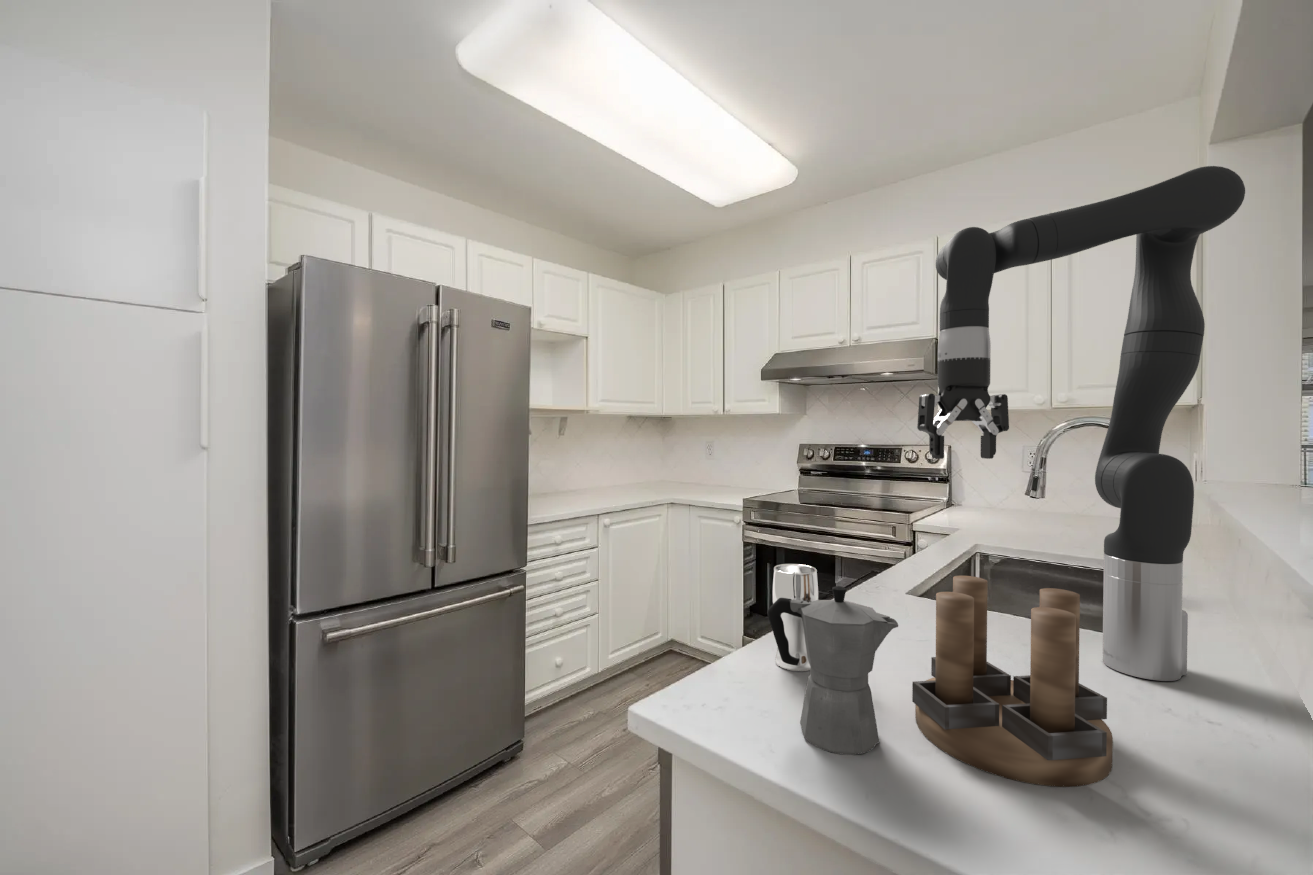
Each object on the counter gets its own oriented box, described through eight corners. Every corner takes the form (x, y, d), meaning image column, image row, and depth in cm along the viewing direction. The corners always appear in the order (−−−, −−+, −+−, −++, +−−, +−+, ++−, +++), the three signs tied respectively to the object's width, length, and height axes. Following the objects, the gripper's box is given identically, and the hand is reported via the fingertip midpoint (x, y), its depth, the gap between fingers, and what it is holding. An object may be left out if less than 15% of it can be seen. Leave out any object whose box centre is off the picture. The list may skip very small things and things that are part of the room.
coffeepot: (901, 729, 70) (902, 584, 70) (892, 770, 62) (893, 605, 61) (778, 701, 77) (778, 569, 77) (755, 734, 69) (756, 586, 69)
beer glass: (819, 674, 85) (820, 575, 85) (772, 670, 87) (772, 573, 87) (816, 656, 92) (816, 564, 92) (772, 653, 94) (772, 562, 93)
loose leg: (973, 677, 78) (974, 575, 78) (993, 690, 74) (994, 583, 74) (945, 678, 77) (946, 575, 77) (964, 692, 73) (965, 584, 73)
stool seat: (1020, 691, 80) (1022, 571, 80) (1164, 780, 60) (1166, 619, 60) (884, 699, 78) (885, 575, 77) (986, 793, 58) (987, 627, 57)
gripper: (936, 354, 87) (935, 460, 88) (1021, 356, 89) (1020, 459, 89) (909, 360, 95) (908, 457, 95) (988, 361, 96) (987, 457, 97)
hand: (962, 458), depth 92 cm, fingers open, 8 cm apart
